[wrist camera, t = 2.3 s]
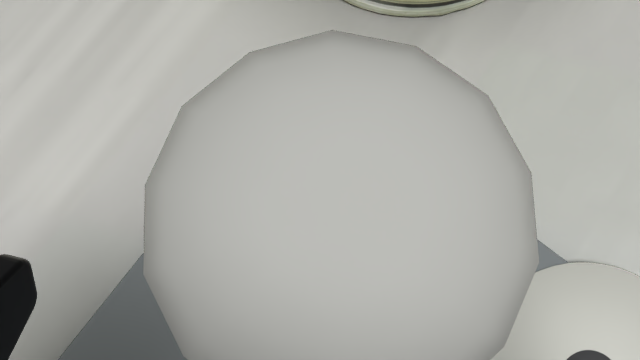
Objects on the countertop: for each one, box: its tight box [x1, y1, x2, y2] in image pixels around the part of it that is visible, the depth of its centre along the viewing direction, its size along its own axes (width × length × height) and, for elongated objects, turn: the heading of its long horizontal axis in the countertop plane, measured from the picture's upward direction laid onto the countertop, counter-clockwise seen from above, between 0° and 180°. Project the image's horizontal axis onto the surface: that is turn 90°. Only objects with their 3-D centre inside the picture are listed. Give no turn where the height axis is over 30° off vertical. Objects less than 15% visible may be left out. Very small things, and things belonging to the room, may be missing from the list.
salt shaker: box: [143, 30, 539, 360], centre depth 12 cm, size 6×6×13 cm
